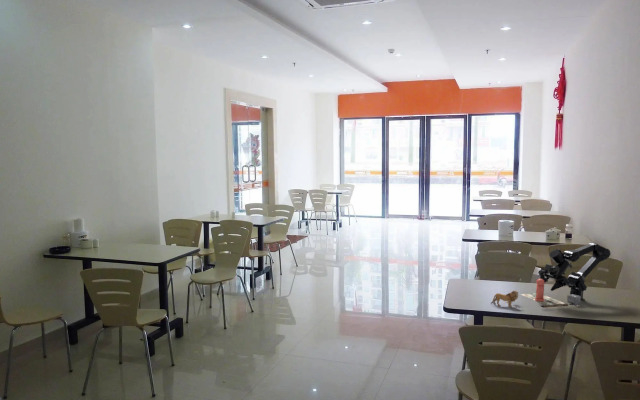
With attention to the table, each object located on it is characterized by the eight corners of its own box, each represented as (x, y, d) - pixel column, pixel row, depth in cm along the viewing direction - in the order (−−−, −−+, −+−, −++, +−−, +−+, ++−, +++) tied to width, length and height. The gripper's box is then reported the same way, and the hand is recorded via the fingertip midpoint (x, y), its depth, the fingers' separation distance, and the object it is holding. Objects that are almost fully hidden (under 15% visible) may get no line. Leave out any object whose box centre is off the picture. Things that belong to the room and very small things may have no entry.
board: (540, 295, 294) (540, 292, 293) (568, 306, 271) (568, 303, 271) (517, 296, 290) (517, 294, 290) (543, 307, 267) (543, 305, 267)
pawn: (537, 298, 280) (538, 277, 279) (546, 300, 276) (547, 279, 275) (533, 300, 277) (534, 278, 276) (541, 302, 273) (542, 280, 272)
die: (571, 302, 279) (572, 294, 278) (580, 304, 274) (580, 296, 274) (567, 303, 276) (567, 295, 275) (575, 306, 272) (576, 297, 271)
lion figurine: (517, 305, 271) (517, 289, 271) (518, 308, 266) (519, 292, 266) (489, 303, 275) (490, 287, 274) (490, 305, 270) (491, 290, 269)
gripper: (541, 256, 287) (525, 275, 284) (566, 262, 269) (550, 283, 266) (550, 268, 290) (535, 287, 287) (576, 275, 272) (560, 296, 270)
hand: (544, 288), depth 277 cm, fingers open, 9 cm apart
